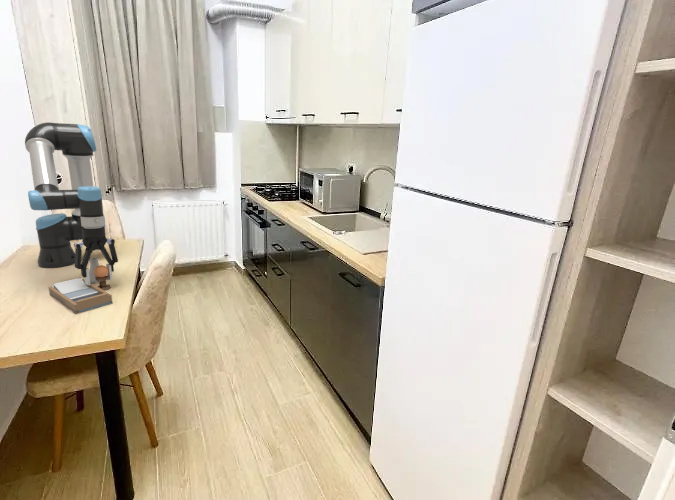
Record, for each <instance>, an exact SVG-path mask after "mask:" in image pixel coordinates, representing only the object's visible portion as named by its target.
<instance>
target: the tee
mask: <svg viewBox="0 0 675 500" xmlns="http://www.w3.org/2000/svg"><path fill="white" fill-rule="evenodd" d="M95 278H96V280H97V281H99V282H98V284H99V285H96V286H97V287H99V288H100V289H102V290H104V291H107V290H109V289H111V284H109V283H108V284H107V281H110V280H109V278H108V276H107V275H106V276H105V277H101V278H100V277H97V276H96V277H95Z"/></svg>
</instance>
